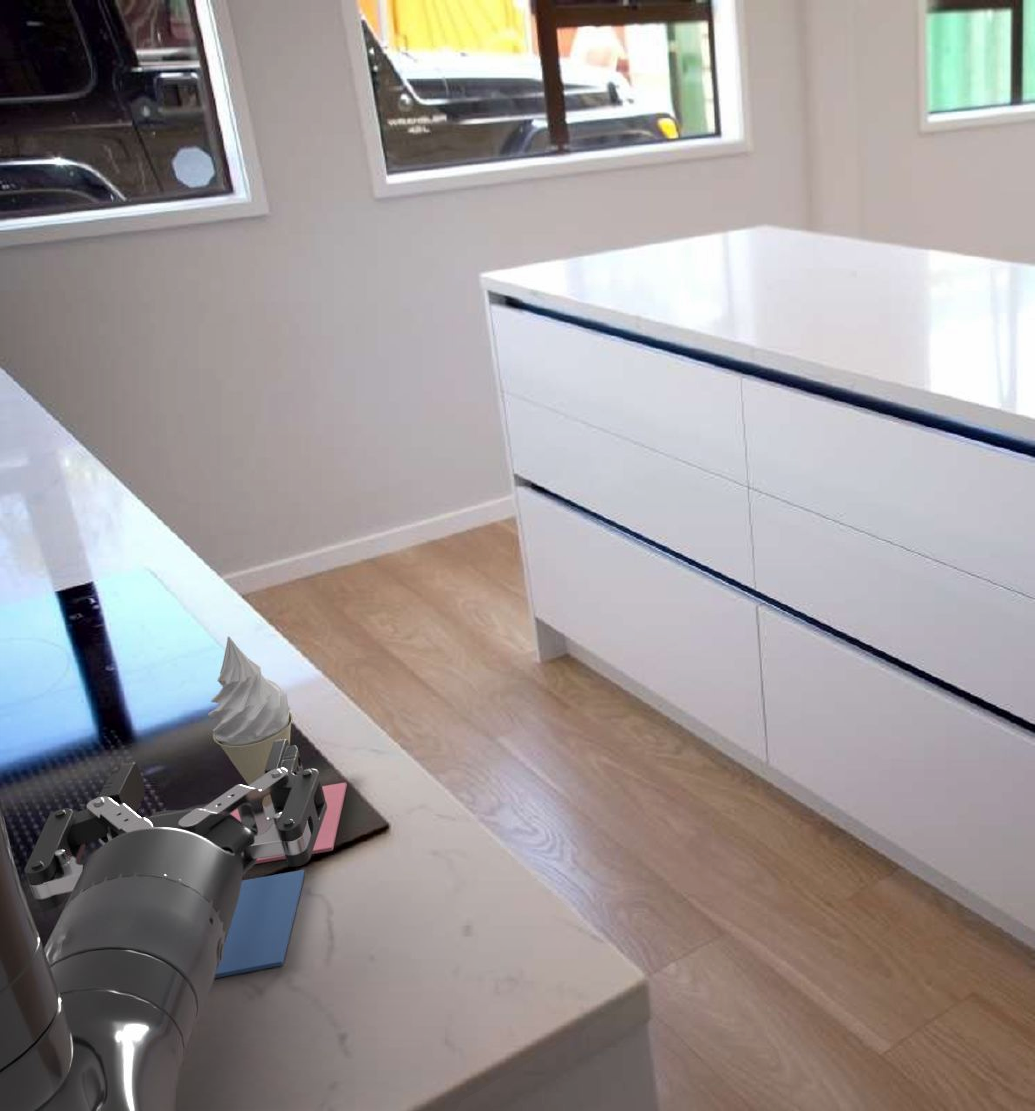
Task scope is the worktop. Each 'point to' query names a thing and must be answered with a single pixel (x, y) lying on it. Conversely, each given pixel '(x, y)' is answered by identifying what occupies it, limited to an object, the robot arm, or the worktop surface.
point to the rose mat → (329, 825)
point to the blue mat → (261, 923)
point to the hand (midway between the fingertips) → (210, 763)
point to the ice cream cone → (249, 715)
